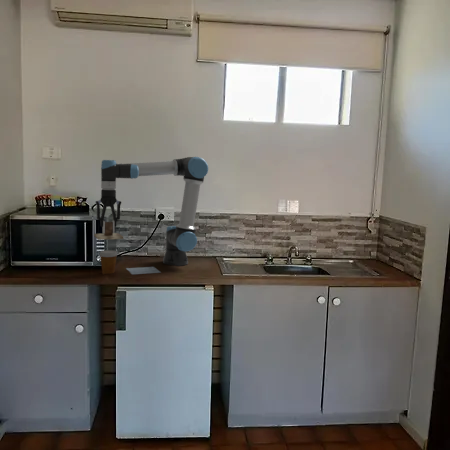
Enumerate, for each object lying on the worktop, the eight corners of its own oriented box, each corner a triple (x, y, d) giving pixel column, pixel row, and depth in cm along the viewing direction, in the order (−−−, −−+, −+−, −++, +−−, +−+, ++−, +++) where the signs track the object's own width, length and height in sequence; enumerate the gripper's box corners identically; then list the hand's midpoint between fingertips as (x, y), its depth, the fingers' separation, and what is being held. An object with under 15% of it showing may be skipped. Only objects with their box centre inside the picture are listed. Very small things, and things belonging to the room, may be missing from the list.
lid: (118, 235, 261) (118, 220, 260) (123, 238, 249) (123, 223, 248) (94, 235, 255) (94, 221, 254) (98, 239, 244) (98, 224, 243)
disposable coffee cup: (112, 276, 249) (112, 253, 248) (96, 274, 251) (96, 252, 250) (120, 272, 258) (120, 250, 257) (104, 270, 260) (104, 249, 259)
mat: (153, 267, 272) (153, 266, 272) (161, 273, 258) (161, 272, 258) (125, 269, 265) (125, 268, 265) (132, 275, 252) (132, 274, 252)
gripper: (92, 189, 242) (92, 234, 245) (126, 189, 249) (126, 233, 252) (90, 188, 249) (90, 232, 252) (123, 189, 256) (123, 231, 259)
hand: (108, 232), depth 252 cm, fingers closed on lid, 4 cm apart
